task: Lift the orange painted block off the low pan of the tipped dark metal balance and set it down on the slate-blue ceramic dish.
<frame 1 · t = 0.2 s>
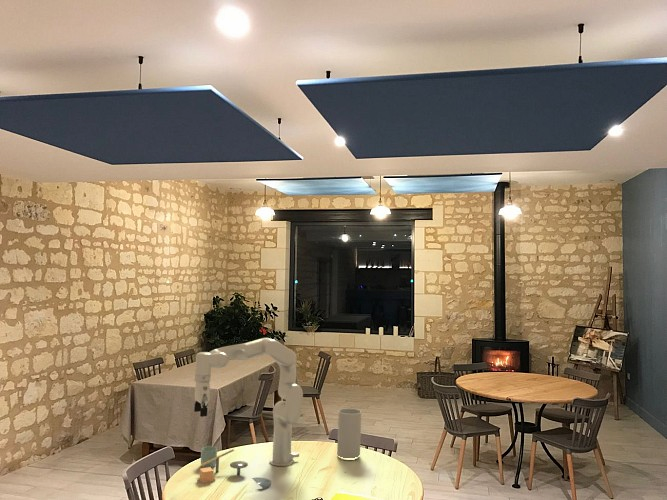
hand: (200, 413, 256), 30 cm above the table, tool pointing down, fingers open, 9 cm apart
block: (206, 480, 247), point 1 cm above the table, touching balance
dish: (257, 484, 248), on the table
cup: (208, 469, 266), on the table
cylinder vase: (348, 457, 290), on the table
balance: (222, 480, 251), on the table
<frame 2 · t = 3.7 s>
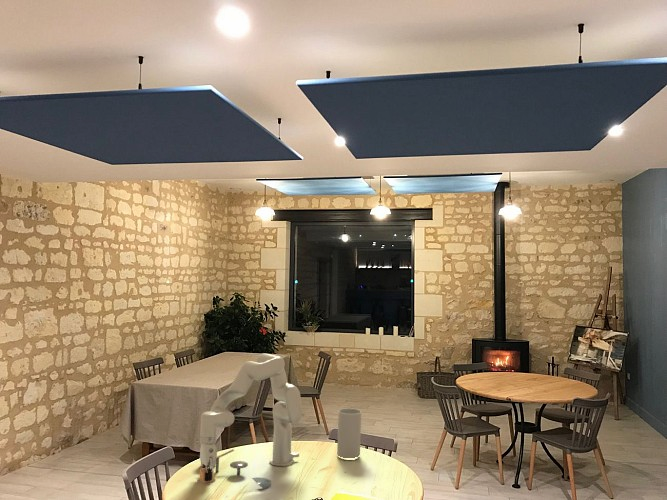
hand: (206, 478, 247), 3 cm above the table, tool pointing down, fingers closed on block, 5 cm apart
block: (206, 480, 247), point 2 cm above the table, touching balance, gripper
everything else where it was.
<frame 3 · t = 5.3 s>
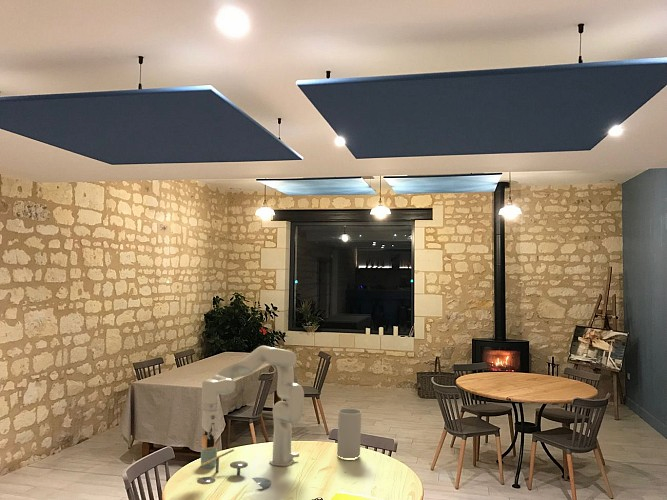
hand: (208, 444, 248), 18 cm above the table, tool pointing down, fingers closed on block, 5 cm apart
block: (208, 447, 248), point 17 cm above the table, touching gripper
everything else where it was.
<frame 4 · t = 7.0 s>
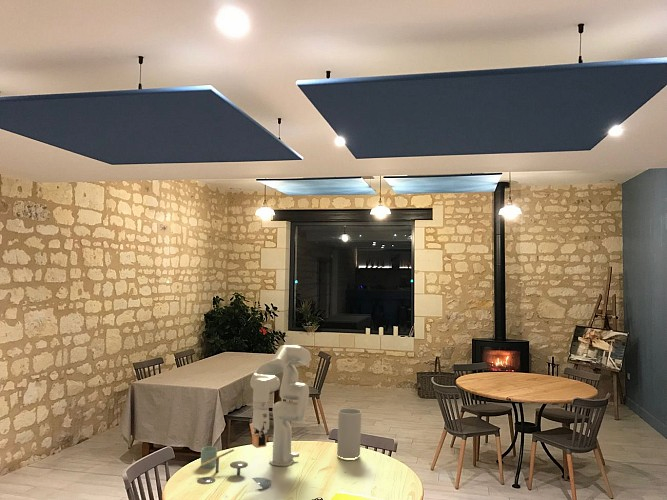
hand: (259, 443, 249), 19 cm above the table, tool pointing down, fingers closed on block, 5 cm apart
block: (259, 445, 249), point 18 cm above the table, touching gripper
everything else where it was.
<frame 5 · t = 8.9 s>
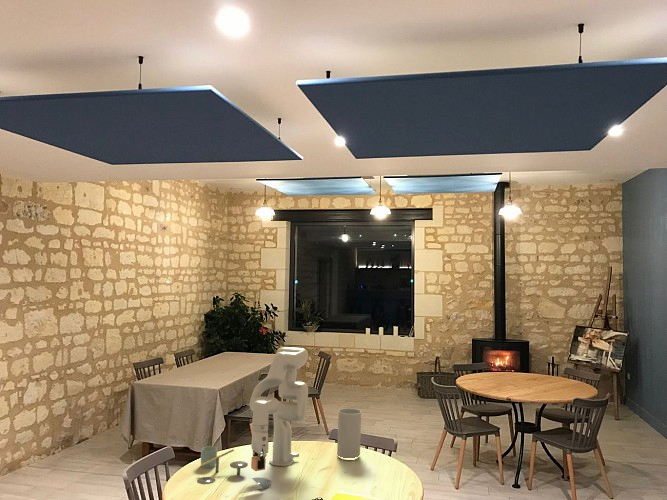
hand: (258, 466, 248), 9 cm above the table, tool pointing down, fingers closed on block, 5 cm apart
block: (258, 468, 248), point 8 cm above the table, touching gripper
everything else where it was.
when the fingers open (4 cm above the table, at t = 10.7 s): block drops 1 cm, resting on dish.
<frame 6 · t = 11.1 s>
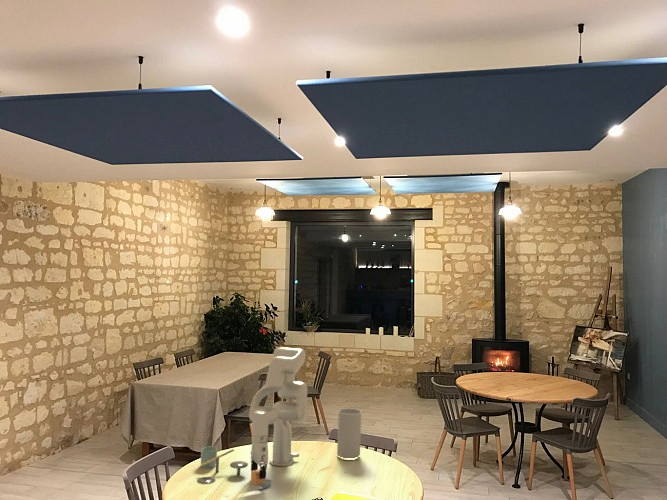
hand: (258, 474, 248), 5 cm above the table, tool pointing down, fingers open, 9 cm apart
block: (257, 482, 248), point 1 cm above the table, touching dish
everything else where it was.
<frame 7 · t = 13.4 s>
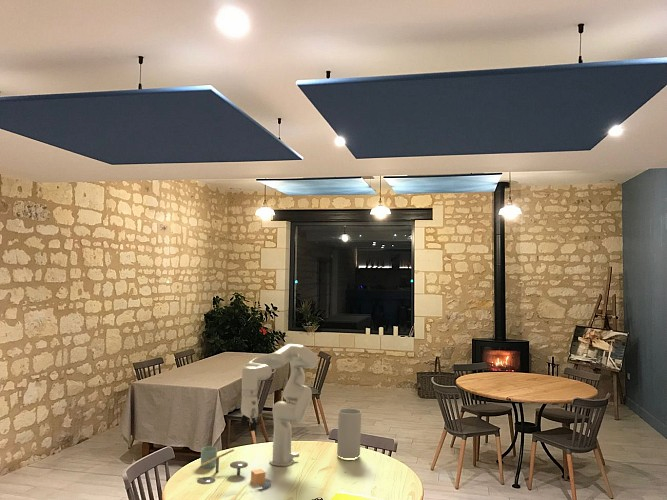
hand: (248, 427, 256), 24 cm above the table, tool pointing down, fingers open, 9 cm apart
nothing on the table moved.
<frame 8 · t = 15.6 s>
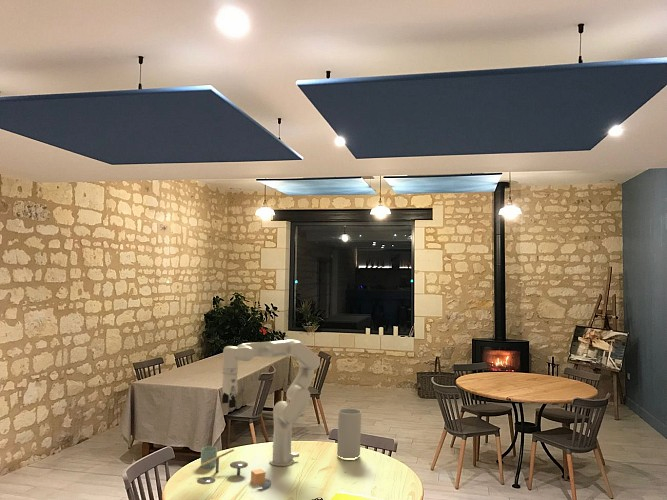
hand: (228, 405, 266), 32 cm above the table, tool pointing down, fingers open, 9 cm apart
nothing on the table moved.
at the end: block inside the target area on the dish (0.0 cm from its centre), point 1.2 cm above the dish's base; block tilted 0°; the gripper is holding nothing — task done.
